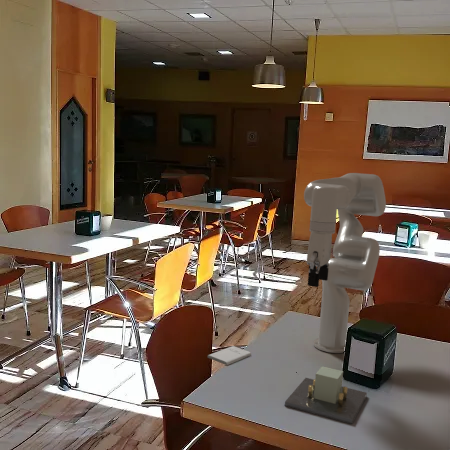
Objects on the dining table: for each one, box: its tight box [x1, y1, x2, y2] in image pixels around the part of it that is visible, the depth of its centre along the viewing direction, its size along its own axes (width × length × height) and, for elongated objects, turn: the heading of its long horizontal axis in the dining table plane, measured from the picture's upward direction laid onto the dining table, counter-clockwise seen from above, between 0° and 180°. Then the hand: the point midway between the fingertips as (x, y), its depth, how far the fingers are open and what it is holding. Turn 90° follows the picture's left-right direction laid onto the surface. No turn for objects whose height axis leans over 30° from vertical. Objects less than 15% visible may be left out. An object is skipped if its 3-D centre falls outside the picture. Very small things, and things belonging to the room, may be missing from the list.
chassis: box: [284, 377, 368, 425], centre depth 148 cm, size 18×18×4 cm
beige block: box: [314, 365, 344, 404], centre depth 147 cm, size 6×6×7 cm
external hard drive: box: [207, 345, 252, 366], centre depth 176 cm, size 2×8×12 cm
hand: (317, 282), depth 163 cm, fingers open, 9 cm apart
